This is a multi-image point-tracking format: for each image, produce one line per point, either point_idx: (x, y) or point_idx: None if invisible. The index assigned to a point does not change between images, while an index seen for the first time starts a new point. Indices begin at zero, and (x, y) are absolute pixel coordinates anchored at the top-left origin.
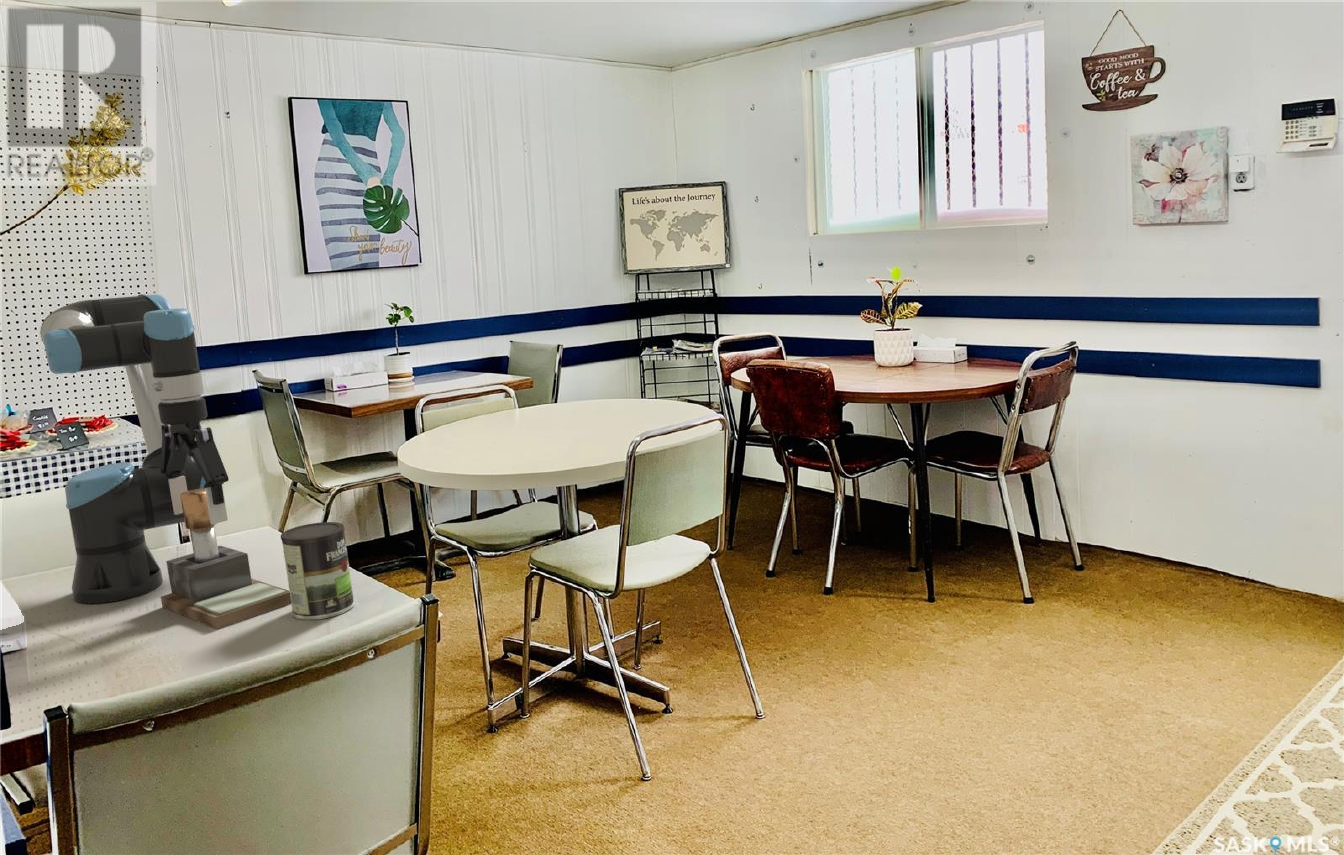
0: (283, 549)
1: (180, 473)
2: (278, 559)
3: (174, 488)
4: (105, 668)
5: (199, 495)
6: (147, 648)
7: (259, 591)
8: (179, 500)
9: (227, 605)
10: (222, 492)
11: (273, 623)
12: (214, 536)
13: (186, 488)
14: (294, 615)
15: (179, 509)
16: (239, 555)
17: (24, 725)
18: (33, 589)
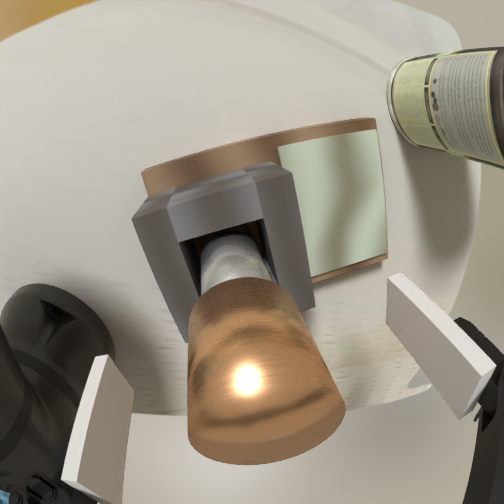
0: (499, 166)
1: (69, 497)
2: (48, 73)
3: (118, 468)
4: (376, 360)
5: (341, 416)
6: (362, 329)
7: (339, 166)
8: (116, 417)
9: (365, 234)
10: (490, 343)
11: (420, 180)
12: (262, 272)
13: (88, 431)
14: (425, 149)
15: (125, 394)
16: (291, 194)
17: (420, 389)
18: None
